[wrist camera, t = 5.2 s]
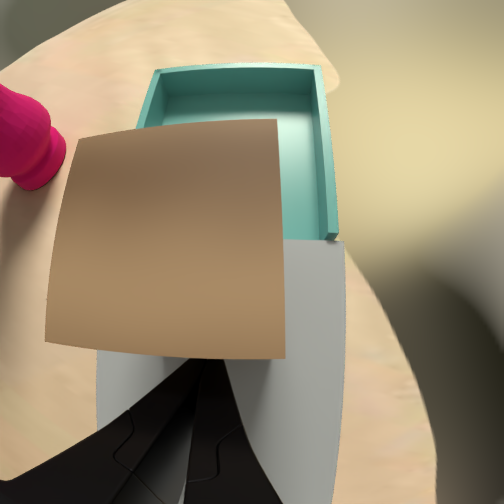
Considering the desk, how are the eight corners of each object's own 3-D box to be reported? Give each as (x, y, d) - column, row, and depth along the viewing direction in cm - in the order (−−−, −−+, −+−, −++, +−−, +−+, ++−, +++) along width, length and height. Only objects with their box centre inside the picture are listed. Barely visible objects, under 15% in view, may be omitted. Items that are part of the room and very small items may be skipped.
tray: (327, 250, 20) (338, 232, 17) (134, 245, 21) (112, 228, 18) (315, 94, 24) (320, 65, 21) (165, 96, 25) (155, 69, 21)
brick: (273, 347, 16) (285, 359, 6) (162, 344, 16) (44, 341, 6) (271, 237, 17) (277, 118, 8) (167, 239, 18) (79, 139, 8)
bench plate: (316, 528, 15) (322, 550, 12) (124, 508, 15) (108, 525, 13) (333, 255, 20) (343, 241, 17) (128, 249, 21) (109, 236, 18)
